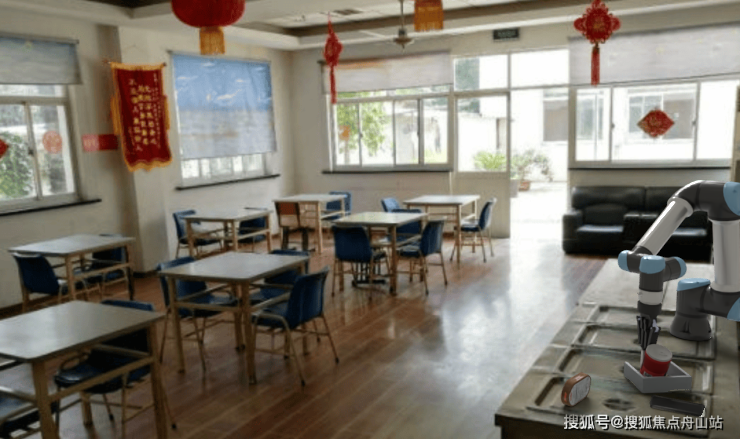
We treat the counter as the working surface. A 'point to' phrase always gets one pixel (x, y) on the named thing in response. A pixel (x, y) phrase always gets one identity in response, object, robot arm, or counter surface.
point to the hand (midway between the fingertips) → (644, 366)
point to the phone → (676, 405)
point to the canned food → (656, 361)
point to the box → (659, 379)
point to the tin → (576, 389)
